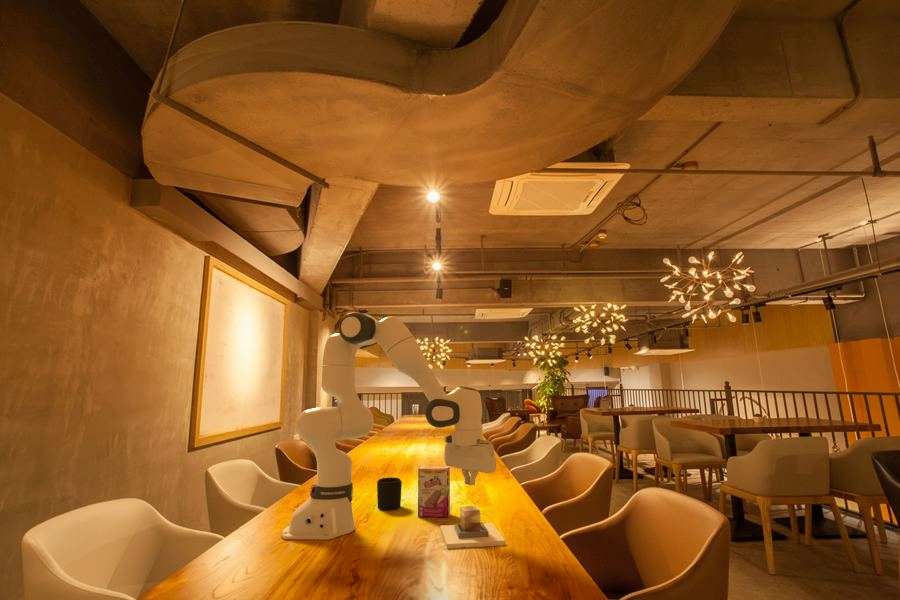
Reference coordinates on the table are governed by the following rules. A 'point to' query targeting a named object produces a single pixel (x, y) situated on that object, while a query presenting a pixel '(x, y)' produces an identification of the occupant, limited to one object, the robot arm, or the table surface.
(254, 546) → the table surface
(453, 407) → the robot arm
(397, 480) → the pen holder
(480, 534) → the base plate
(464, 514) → the tan rectangular block
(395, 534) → the table surface
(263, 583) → the table surface
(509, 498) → the table surface
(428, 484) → the candy bar box
